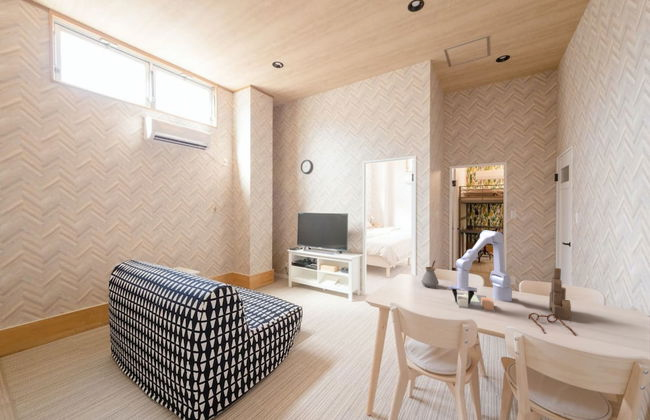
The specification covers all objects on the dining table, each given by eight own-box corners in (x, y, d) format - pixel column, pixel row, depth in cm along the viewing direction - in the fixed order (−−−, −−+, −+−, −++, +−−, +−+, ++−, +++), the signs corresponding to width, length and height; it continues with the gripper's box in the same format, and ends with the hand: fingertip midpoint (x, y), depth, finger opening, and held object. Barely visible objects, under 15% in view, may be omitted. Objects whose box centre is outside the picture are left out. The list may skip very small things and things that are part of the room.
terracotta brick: (489, 304, 152) (490, 297, 152) (493, 310, 145) (493, 303, 144) (480, 303, 154) (481, 296, 153) (484, 309, 146) (484, 302, 146)
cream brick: (465, 301, 156) (465, 295, 156) (467, 307, 149) (468, 300, 149) (457, 300, 158) (457, 294, 158) (459, 306, 150) (459, 299, 150)
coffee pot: (436, 289, 179) (437, 268, 178) (419, 286, 185) (419, 265, 184) (442, 281, 196) (442, 261, 195) (426, 278, 203) (426, 259, 202)
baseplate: (485, 297, 165) (485, 295, 165) (495, 314, 142) (495, 312, 142) (453, 293, 171) (453, 292, 171) (458, 309, 149) (459, 307, 149)
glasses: (556, 323, 133) (556, 313, 133) (576, 337, 120) (576, 326, 120) (527, 321, 135) (527, 311, 135) (544, 334, 122) (544, 324, 122)
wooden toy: (571, 321, 134) (573, 273, 132) (554, 318, 137) (556, 271, 136) (564, 309, 147) (566, 265, 145) (548, 307, 150) (550, 264, 149)
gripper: (449, 280, 151) (449, 303, 152) (478, 283, 146) (477, 307, 147) (448, 276, 158) (448, 298, 159) (476, 279, 153) (475, 302, 154)
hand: (462, 302), depth 153 cm, fingers open, 6 cm apart
